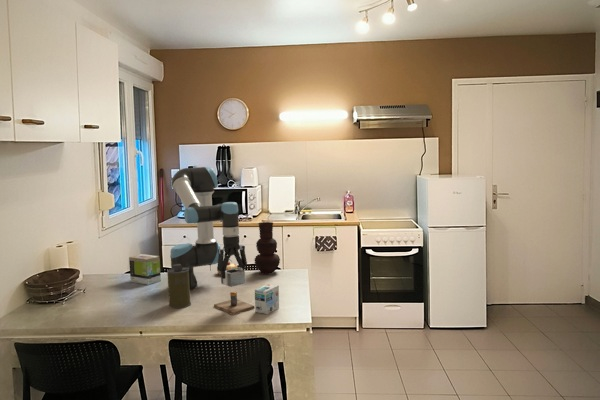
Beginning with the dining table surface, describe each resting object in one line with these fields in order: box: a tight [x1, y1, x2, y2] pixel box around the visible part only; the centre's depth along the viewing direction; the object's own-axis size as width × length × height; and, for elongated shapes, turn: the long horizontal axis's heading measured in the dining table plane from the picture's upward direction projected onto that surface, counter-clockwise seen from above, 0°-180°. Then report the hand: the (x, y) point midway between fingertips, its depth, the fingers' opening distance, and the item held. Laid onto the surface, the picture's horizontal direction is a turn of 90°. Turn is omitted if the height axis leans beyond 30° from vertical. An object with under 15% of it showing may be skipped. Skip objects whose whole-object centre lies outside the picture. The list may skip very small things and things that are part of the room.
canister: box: [166, 264, 192, 309], centre depth 244 cm, size 11×10×20 cm
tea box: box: [128, 253, 162, 286], centre depth 287 cm, size 15×10×15 cm
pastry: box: [216, 258, 238, 276], centre depth 300 cm, size 12×12×9 cm
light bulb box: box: [254, 283, 280, 315], centre depth 234 cm, size 11×7×11 cm, turn 148°
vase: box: [253, 221, 281, 275], centre depth 298 cm, size 15×15×30 cm
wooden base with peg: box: [213, 291, 255, 315], centre depth 238 cm, size 16×12×7 cm
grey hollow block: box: [220, 268, 246, 288], centre depth 237 cm, size 8×8×6 cm
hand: (233, 282), depth 237 cm, fingers closed on grey hollow block, 8 cm apart
